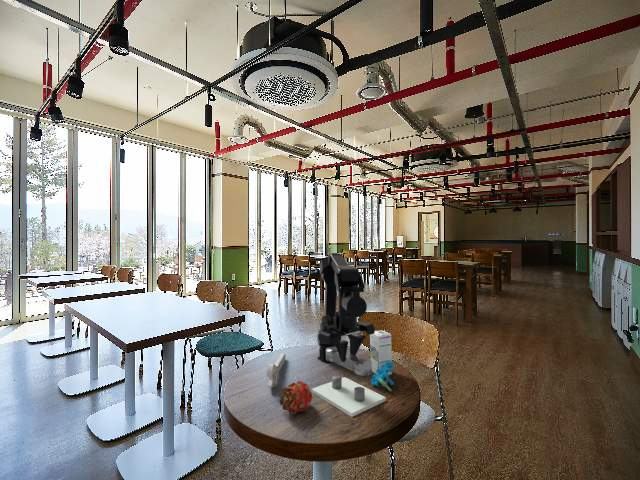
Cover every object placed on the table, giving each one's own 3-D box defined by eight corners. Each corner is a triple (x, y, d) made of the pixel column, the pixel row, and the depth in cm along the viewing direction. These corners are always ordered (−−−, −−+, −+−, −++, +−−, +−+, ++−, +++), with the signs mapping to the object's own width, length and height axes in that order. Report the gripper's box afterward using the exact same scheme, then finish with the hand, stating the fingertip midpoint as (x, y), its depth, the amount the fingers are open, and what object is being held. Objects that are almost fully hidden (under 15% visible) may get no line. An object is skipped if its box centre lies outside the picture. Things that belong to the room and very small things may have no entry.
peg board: (344, 379, 109) (344, 368, 109) (385, 400, 95) (385, 387, 95) (311, 392, 100) (311, 379, 100) (351, 416, 86) (351, 402, 86)
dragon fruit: (285, 428, 83) (299, 411, 95) (311, 411, 82) (322, 396, 94) (269, 398, 86) (285, 385, 97) (294, 381, 85) (307, 370, 96)
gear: (370, 371, 112) (391, 354, 109) (383, 384, 111) (404, 367, 109) (367, 390, 101) (390, 371, 98) (380, 404, 101) (404, 386, 98)
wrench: (285, 367, 128) (271, 394, 98) (280, 367, 128) (265, 394, 98) (285, 346, 128) (272, 367, 99) (281, 346, 129) (266, 367, 99)
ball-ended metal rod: (334, 354, 106) (334, 345, 106) (375, 372, 92) (375, 362, 92) (322, 358, 103) (322, 349, 103) (363, 377, 89) (363, 366, 89)
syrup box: (392, 374, 113) (392, 333, 113) (378, 377, 111) (378, 335, 111) (382, 368, 119) (382, 329, 119) (369, 371, 116) (369, 331, 116)
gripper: (351, 301, 110) (351, 346, 110) (307, 308, 98) (307, 359, 98) (375, 307, 101) (375, 356, 101) (330, 315, 89) (330, 371, 89)
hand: (347, 360), depth 98 cm, fingers closed on ball-ended metal rod, 4 cm apart
